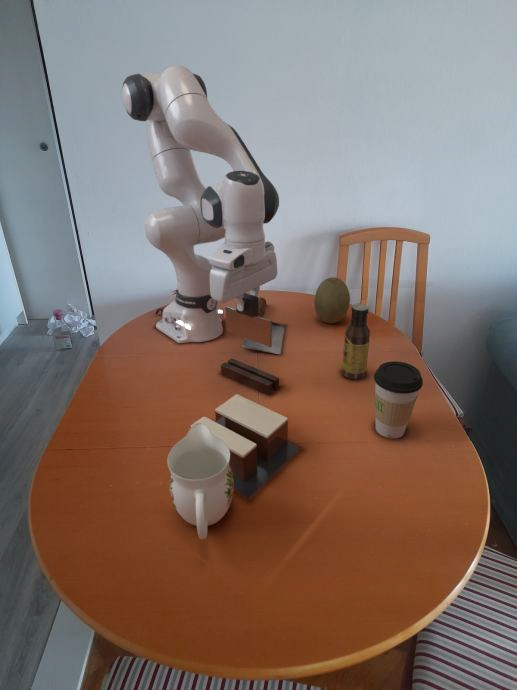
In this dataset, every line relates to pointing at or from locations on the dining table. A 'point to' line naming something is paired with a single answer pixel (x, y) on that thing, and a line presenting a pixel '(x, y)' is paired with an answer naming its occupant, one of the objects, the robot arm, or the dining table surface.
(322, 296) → the fruit
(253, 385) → the stand
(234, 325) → the dough scraper
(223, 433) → the cake slice
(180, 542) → the dining table surface
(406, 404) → the coffee cup
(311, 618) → the dining table surface
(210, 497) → the pitcher
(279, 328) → the meat cleaver
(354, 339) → the sauce bottle
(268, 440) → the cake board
